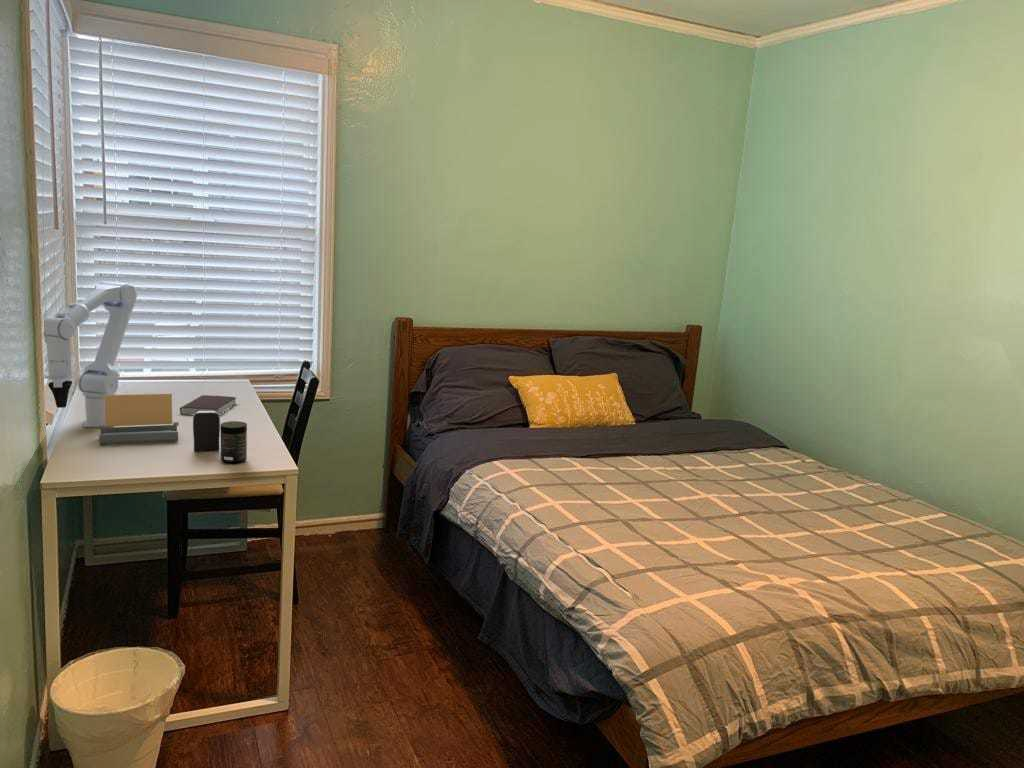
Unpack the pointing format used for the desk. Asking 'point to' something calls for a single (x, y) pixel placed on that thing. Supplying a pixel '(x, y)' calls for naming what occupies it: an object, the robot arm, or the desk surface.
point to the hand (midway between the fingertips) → (61, 407)
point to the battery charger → (206, 431)
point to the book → (208, 404)
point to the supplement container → (233, 442)
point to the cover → (138, 409)
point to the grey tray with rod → (138, 434)
